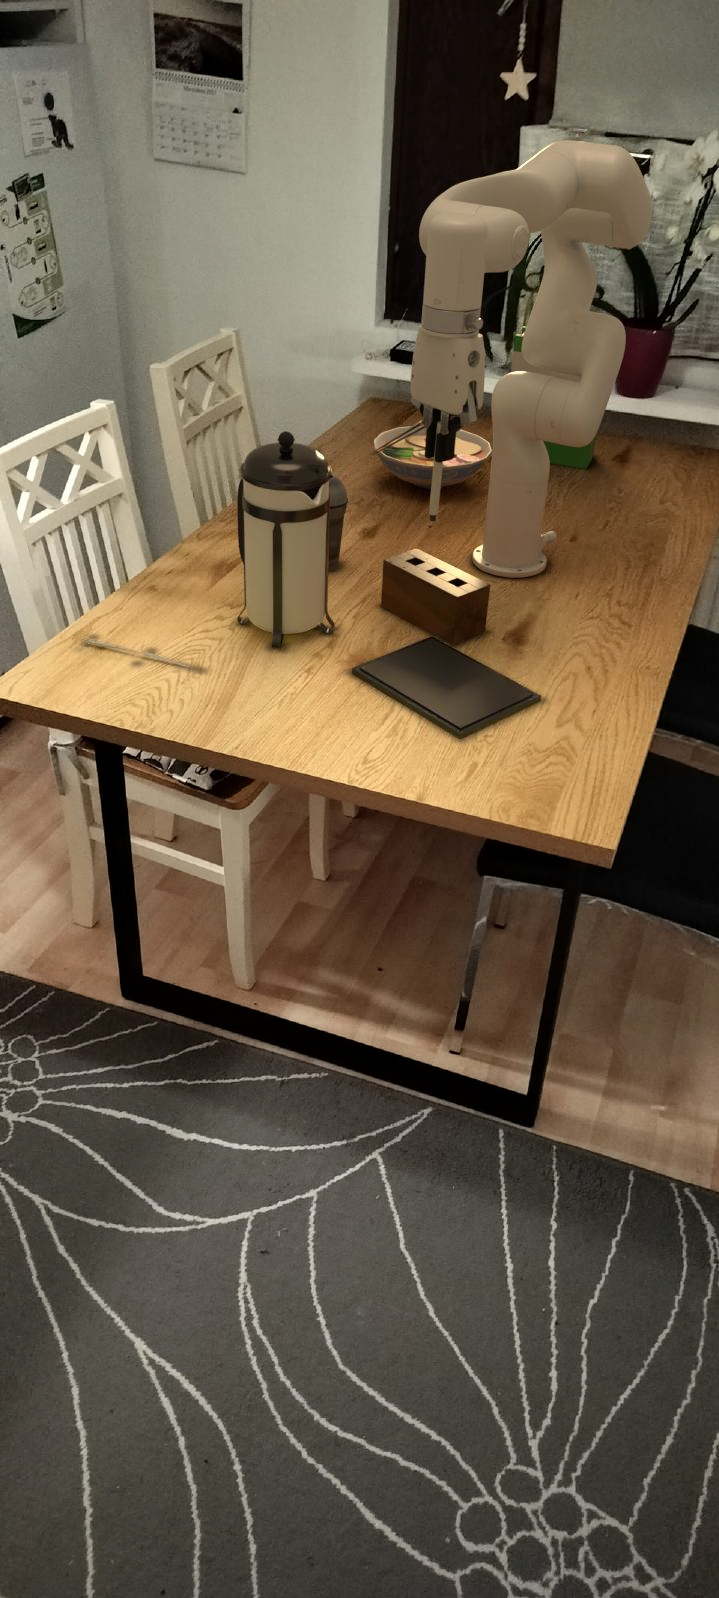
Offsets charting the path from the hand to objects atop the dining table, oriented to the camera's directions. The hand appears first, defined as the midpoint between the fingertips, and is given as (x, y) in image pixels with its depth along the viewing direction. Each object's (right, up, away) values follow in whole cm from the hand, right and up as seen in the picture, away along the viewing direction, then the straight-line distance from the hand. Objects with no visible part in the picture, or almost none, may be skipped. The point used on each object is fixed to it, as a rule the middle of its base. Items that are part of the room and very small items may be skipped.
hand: (439, 457), depth 165 cm
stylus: (-42, -27, +7) cm, 51 cm away
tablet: (+1, -32, +3) cm, 32 cm away
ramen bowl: (+3, +14, +67) cm, 69 cm away
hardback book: (+28, +23, +81) cm, 89 cm away
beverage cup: (-17, -8, +34) cm, 39 cm away
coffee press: (-23, -21, +17) cm, 36 cm away
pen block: (0, -19, +20) cm, 28 cm away
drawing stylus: (-1, -8, +5) cm, 9 cm away
